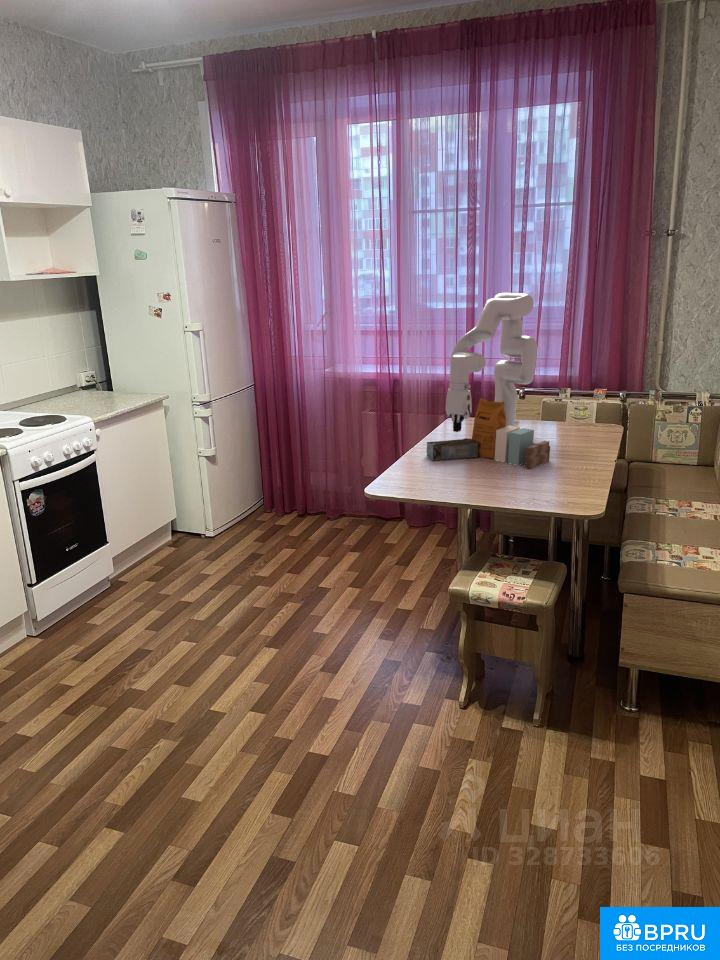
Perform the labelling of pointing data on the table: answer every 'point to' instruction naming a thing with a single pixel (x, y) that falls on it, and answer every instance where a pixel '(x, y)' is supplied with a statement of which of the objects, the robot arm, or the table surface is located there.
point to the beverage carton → (452, 449)
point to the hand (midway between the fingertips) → (457, 431)
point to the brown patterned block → (537, 454)
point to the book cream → (503, 442)
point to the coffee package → (488, 426)
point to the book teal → (519, 445)
